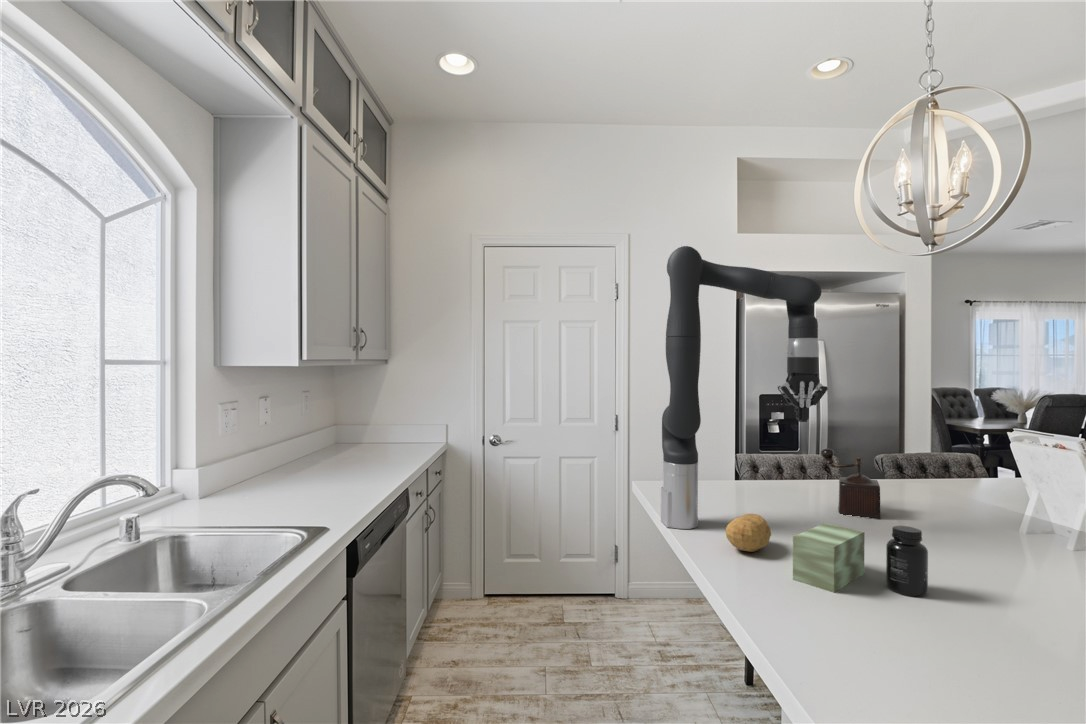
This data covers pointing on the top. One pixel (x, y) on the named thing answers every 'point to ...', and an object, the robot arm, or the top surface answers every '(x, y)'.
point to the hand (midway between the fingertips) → (802, 421)
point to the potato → (748, 532)
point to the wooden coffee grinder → (856, 490)
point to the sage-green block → (828, 556)
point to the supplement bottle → (907, 562)
